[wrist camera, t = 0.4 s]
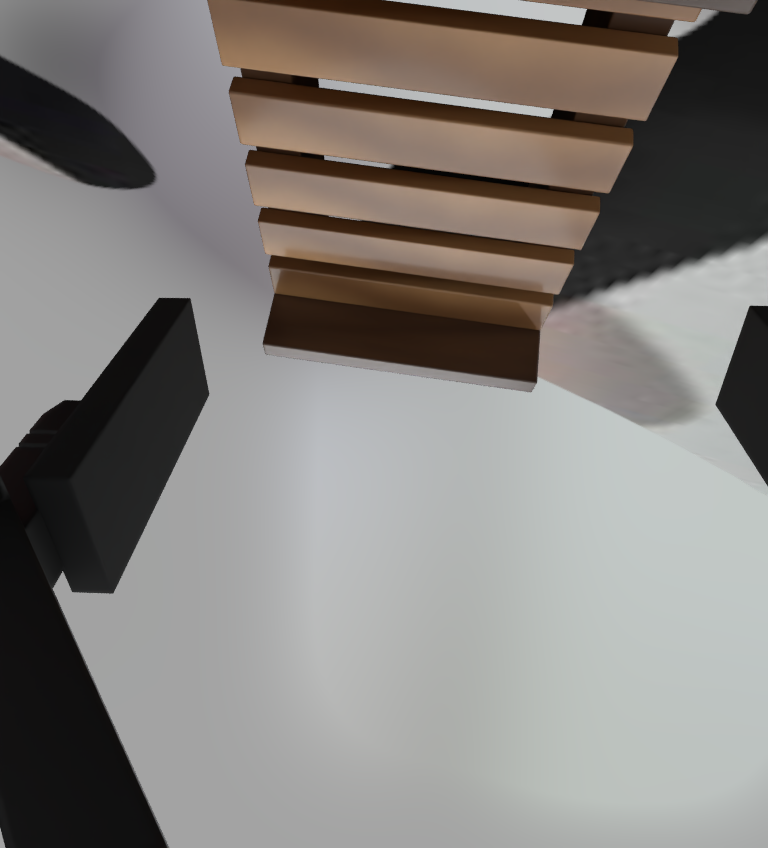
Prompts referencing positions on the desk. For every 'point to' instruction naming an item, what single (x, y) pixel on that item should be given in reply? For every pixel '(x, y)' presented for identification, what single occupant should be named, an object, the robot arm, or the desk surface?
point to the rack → (437, 150)
